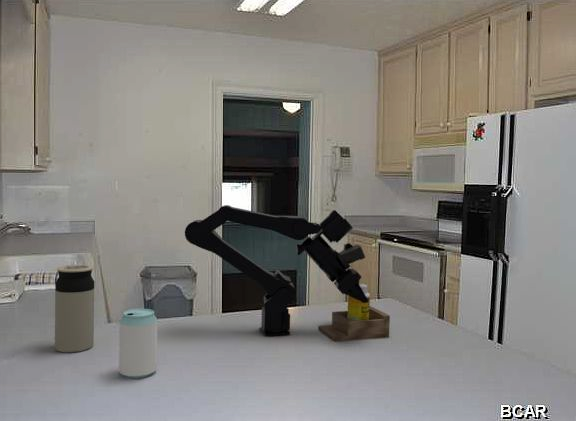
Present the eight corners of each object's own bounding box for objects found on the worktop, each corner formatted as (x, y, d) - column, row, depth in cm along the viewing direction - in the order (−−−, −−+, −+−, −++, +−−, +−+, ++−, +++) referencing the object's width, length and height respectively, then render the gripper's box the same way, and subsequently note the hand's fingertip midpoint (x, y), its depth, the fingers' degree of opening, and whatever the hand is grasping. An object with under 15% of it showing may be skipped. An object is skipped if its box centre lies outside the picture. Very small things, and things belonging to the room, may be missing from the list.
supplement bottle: (361, 328, 124) (363, 288, 124) (342, 324, 128) (344, 284, 127) (372, 324, 128) (374, 285, 128) (354, 320, 132) (355, 282, 132)
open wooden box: (334, 341, 120) (335, 318, 120) (318, 329, 130) (319, 308, 130) (389, 337, 125) (389, 315, 125) (369, 326, 135) (370, 306, 135)
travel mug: (101, 345, 113) (102, 266, 112) (72, 355, 105) (73, 271, 105) (75, 340, 116) (76, 263, 115) (46, 349, 109) (47, 268, 108)
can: (136, 382, 92) (137, 318, 91) (111, 374, 96) (111, 312, 95) (164, 371, 98) (165, 311, 97) (139, 363, 102) (140, 305, 101)
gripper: (354, 237, 117) (397, 285, 119) (340, 230, 136) (377, 271, 137) (320, 269, 117) (363, 316, 119) (310, 258, 136) (348, 299, 137)
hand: (364, 299), depth 128 cm, fingers closed on supplement bottle, 5 cm apart
